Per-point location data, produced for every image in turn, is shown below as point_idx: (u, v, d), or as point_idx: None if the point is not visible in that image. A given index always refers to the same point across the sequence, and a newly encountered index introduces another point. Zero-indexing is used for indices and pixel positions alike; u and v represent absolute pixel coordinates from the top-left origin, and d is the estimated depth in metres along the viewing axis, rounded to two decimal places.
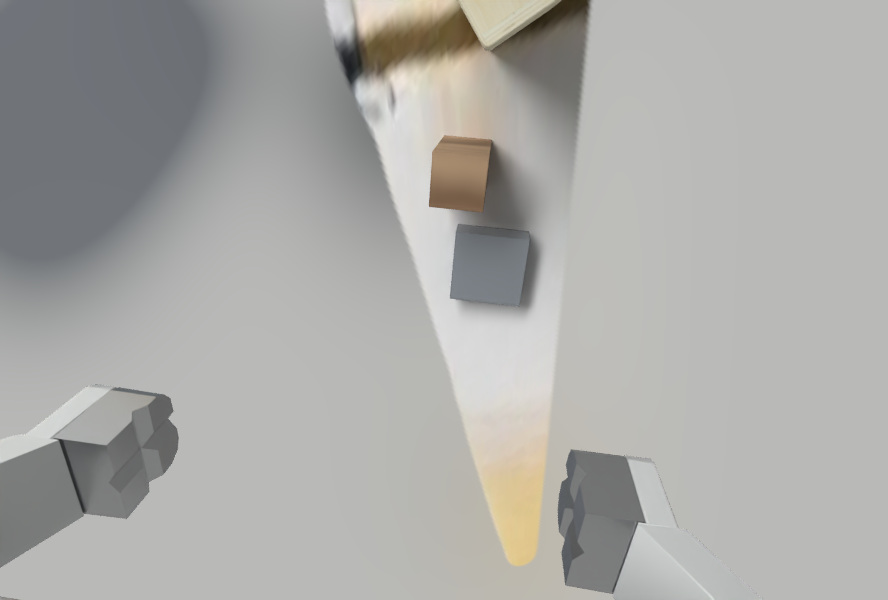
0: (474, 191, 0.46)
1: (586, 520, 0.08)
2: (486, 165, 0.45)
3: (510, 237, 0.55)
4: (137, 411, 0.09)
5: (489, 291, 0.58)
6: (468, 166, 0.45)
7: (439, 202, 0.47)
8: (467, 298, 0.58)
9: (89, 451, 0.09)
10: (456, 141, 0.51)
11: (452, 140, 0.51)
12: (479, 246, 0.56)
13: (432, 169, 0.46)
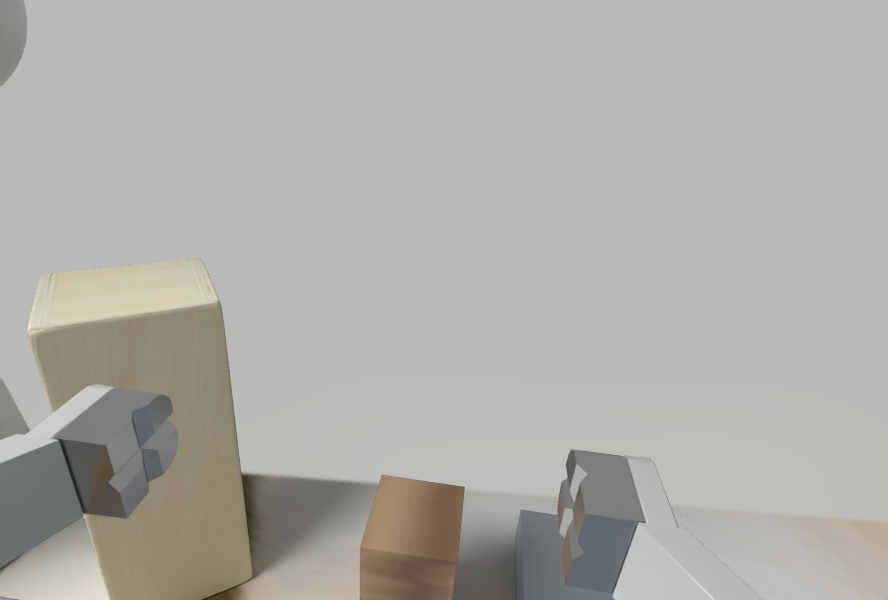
0: (431, 495, 0.29)
1: (586, 520, 0.08)
2: (393, 478, 0.30)
3: (521, 537, 0.36)
4: (137, 411, 0.09)
5: None
6: (392, 499, 0.29)
7: (449, 544, 0.27)
8: None
9: (89, 451, 0.09)
10: None
11: None
12: (543, 577, 0.33)
13: (391, 550, 0.26)
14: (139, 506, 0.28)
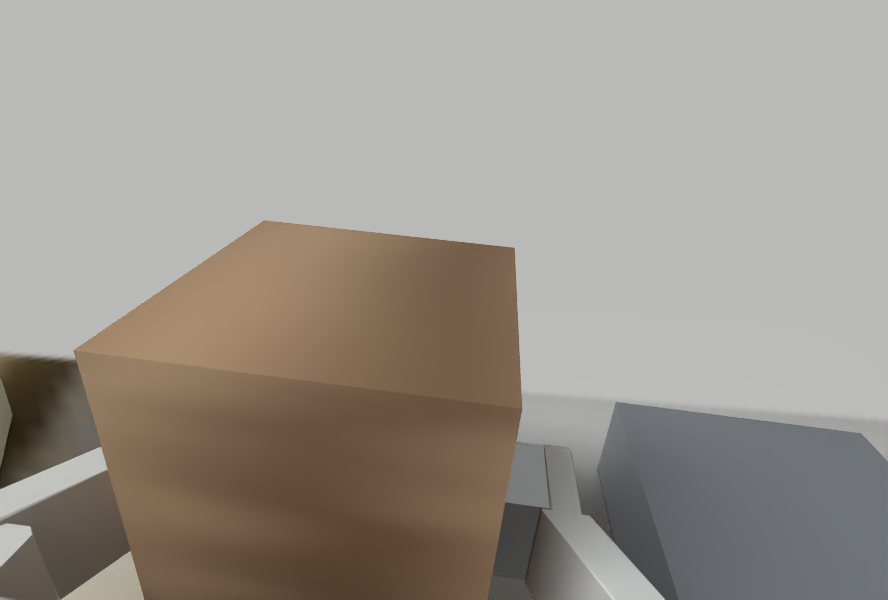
0: (412, 254, 0.09)
1: None
2: (298, 226, 0.10)
3: (626, 454, 0.16)
4: None
5: None
6: (277, 256, 0.09)
7: (479, 355, 0.06)
8: None
9: None
10: None
11: None
12: (712, 539, 0.13)
13: (214, 363, 0.06)
14: None
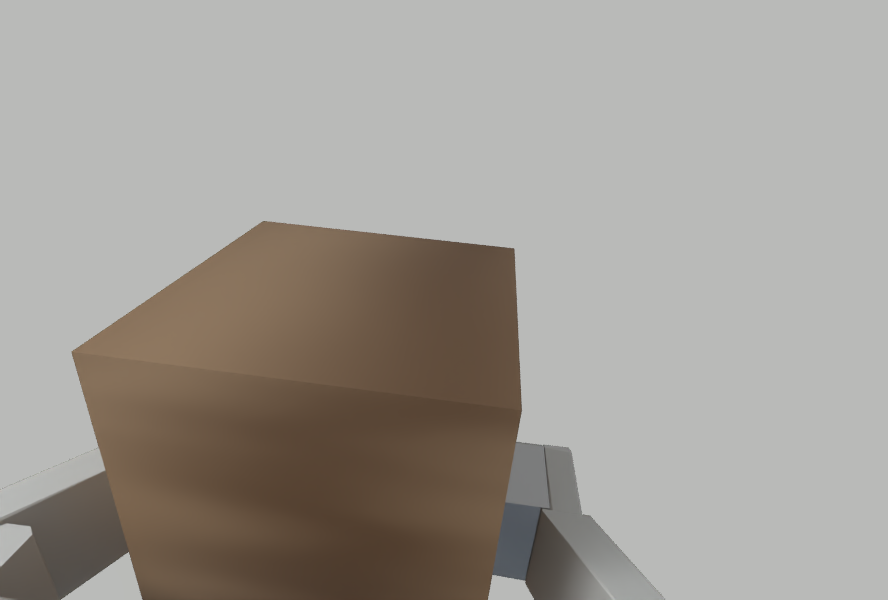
0: (412, 255, 0.09)
1: None
2: (297, 226, 0.10)
3: None
4: None
5: None
6: (277, 257, 0.09)
7: (478, 356, 0.06)
8: None
9: None
10: None
11: None
12: None
13: (212, 364, 0.06)
14: None
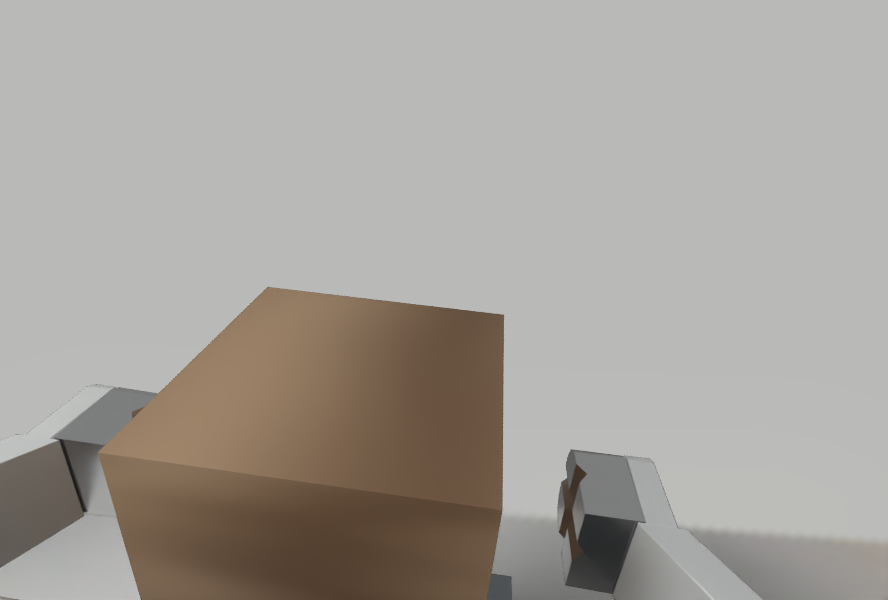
0: (406, 326, 0.10)
1: (586, 520, 0.08)
2: (299, 293, 0.11)
3: None
4: (138, 411, 0.09)
5: None
6: (281, 331, 0.09)
7: (465, 448, 0.07)
8: None
9: (90, 451, 0.09)
10: None
11: None
12: None
13: (224, 464, 0.06)
14: None
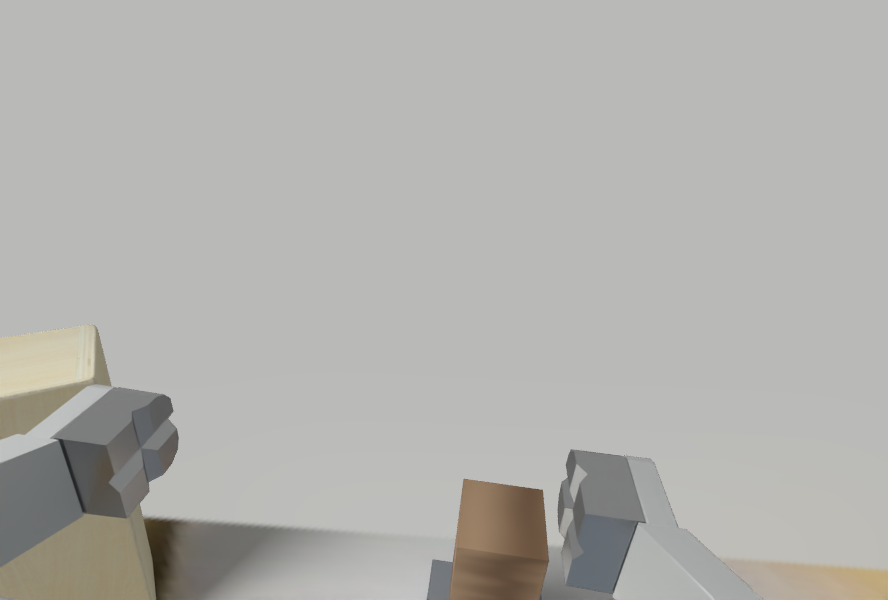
0: (513, 497, 0.31)
1: (586, 520, 0.08)
2: (475, 482, 0.32)
3: (428, 589, 0.36)
4: (137, 411, 0.09)
5: None
6: (477, 502, 0.31)
7: (538, 544, 0.28)
8: None
9: (89, 451, 0.09)
10: (449, 598, 0.32)
11: None
12: None
13: (485, 549, 0.28)
14: (25, 574, 0.28)
